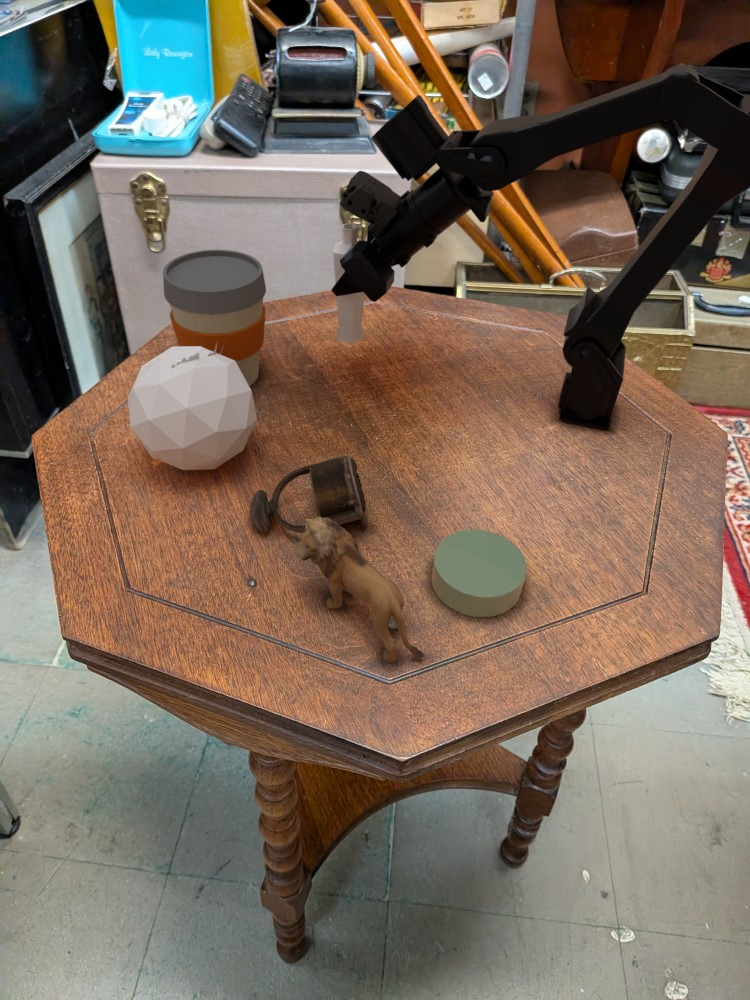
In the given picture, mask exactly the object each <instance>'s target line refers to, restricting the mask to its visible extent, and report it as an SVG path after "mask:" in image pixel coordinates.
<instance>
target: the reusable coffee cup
mask: <svg viewBox="0 0 750 1000" xmlns="http://www.w3.org/2000/svg"><path fill="white" fill-rule="evenodd" d="M162 277H163V278H162V281H163V295H164V296H163V297H164V299H165V300H166V302H167V303H168V304H169V307H170V312H169V318H170V321H171V325H172V327H173V331H174V334H175V337H176V340H177V344H178V347H180V346H201V347H203V348H206V349H208V350H210V351H213V352H214V350H215V347H216V345H217V349H216V353H218V354H220V352H221V354H220V355H222V356H225V357H227V358H230V359H232V360H235V362H236V363H237V365H238V367H239V369H240V371H241V372H242V374H243V376H244V378H245V380H246V382H247V383H248V385H249V387H251V386H252V385H253V384H254V383H255V382H256V381H257V380H258V378H259V374H260V373H259V372H260V355H261V348H262V347H263V346H264V341H265V326H266V307H265V305H264V297H265V295H266V292H267V285H266V281H265V276H264V271H263V266H262V264H261V262H260V261H259V260H258V259H257V258H255V257H253V256H252V255H250V254H247V253H244V252H240V251H237V250H236V251H235V250H229V249H204V250H198V251H192V252H188V253H186V254H181V255H179V256H177V257H175V258H173V259H171V260H170V261H169V262H168V263H166V265H165V266H164V267H163V271H162ZM216 342H217V344H216ZM222 347H223V349H222ZM221 350H222V351H221Z"/></svg>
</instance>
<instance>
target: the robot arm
mask: <svg viewBox="0 0 750 1000" xmlns="http://www.w3.org/2000/svg"><path fill="white" fill-rule="evenodd" d="M668 120H672V121H674V122H676V123H678V124H679V125H680V126H681V125H682V126H683V127H684V128H686V129H687V130H688V131H690V132H691V133H693V134H694V135H695V136H696V137H698V138H699V139H700V140H702V141H704V142H705V143H706V144H707V146H706V147H705V149H704V152H703V154H702V156H701V158H700V161H699V163H698V165H697V167H696V170H695V172H694V174H693V175H692V177H691V179H690V181H689V182H688V183H687V184H686V185H685V187H684V188H683V190H681V192H680V193H679V195H678V196H677V197H676V198H675V200H674V201H673V203H671V205H670V206H669V207H668V209H667V210H666V211H665V213H664V214H663V215H662V217H661V218H660V219H659V221H658V222H657V223H656V225H654V227H653V228H652V229H651V231H650V232H649V233H648V234H647V236H646V237H645V239H644V240H643V241H642V243H641V244H640V245H639V246H638V247H637V249H636V250H635V251H634V253H633V254H632V256H631V257H630V258H629V259H628V261H627V262H626V263H625V264H624V265H623V267H622V268H621V270H619V272H618V273H617V274H616V276H615V277H614V279H613V280H612V281H611V282H610V283H609V285H607V286H606V287H603V289H601V290H599V291H598V292H595V291H594V290H593V289H592V288H591V287H590V286H587V287H586V289H585V290H584V293H583V294H582V297H581V298H580V300H579V301H578V303H577V304H575V306H573V307H571V308H570V309H569V310H568V313H567V318H566V323H565V327H564V331H563V336H564V337H565V338H564V342H563V346H562V354H563V358H564V360H565V362H566V363H567V364H568V365H569V366H570V367H571V370H570V372H569V371H567V372H566V373H564V378H563V381H562V382H563V383H562V386H561V389H560V394H559V397H558V403H557V408H558V410H560V411H559V415H558V420H559V422H560V421H561V422H564V423H569V424H573V425H578V426H584V427H588V428H594V429H598V430H604V431H610V429H611V427H612V419H613V418H612V417H613V413H614V409H615V407H616V404H617V399H618V397H619V393H620V390H621V387H622V384H623V382H624V377H625V376H624V375H625V366H626V365H625V363H626V355H627V354H626V353H627V346H626V344H625V343H624V342H623V340H622V339H623V338H624V335H625V332H626V330H627V328H628V326H629V325H630V323H631V321H632V318H633V316H634V314H635V312H636V311H637V310H638V308H639V307H640V306H641V305H642V303H643V302H644V301H645V300H646V299H647V298H648V296H649V295H650V294H651V293H652V292H653V290H655V288H656V287H657V286H658V285H659V283H660V282H661V281H662V280H663V278H664V277H665V276H666V275H667V273H668V272H669V271H670V270H671V269H672V267H674V266H675V264H676V263H677V261H678V260H679V259H680V258H681V256H682V255H683V254H684V253H685V252H686V251H687V249H688V248H689V247H690V246H691V245H692V243H693V242H694V241H696V238H697V237H698V236H699V235H700V234H701V233H702V232H703V230H704V229H705V228H706V226H708V224H709V223H710V222H711V220H712V219H713V218H714V217H715V216H716V214H717V213H718V212H719V211H720V210H721V209H722V208H723V207H724V206H725V205H727V204H728V203H730V202H731V201H732V200H734V199H735V198H737V197H738V196H740V195H741V194H743V193H744V192H746V191H748V190H749V189H750V95H749V96H746V95H744V94H742V93H740V92H739V91H737V90H735V89H734V88H732V87H730V86H727V85H725V84H723V83H720V82H719V81H716V80H714V79H712V78H709V77H707V76H704V75H703V74H701V73H700V72H698V71H697V70H696V69H695V68H694V67H692V66H690V65H687V64H677V65H674V66H671V67H669V68H668V69H666V70H665V71H663V72H662V73H659V74H656V75H654V76H651V77H648V78H645V79H643V80H641V81H637V82H634V83H631V84H629V85H626V86H623V87H621V88H618V89H615V90H612V91H610V92H607V93H604V94H601V95H599V96H595V97H593V98H590V99H588V100H584V101H582V102H579V103H577V104H574V105H571V106H568V107H566V108H562V109H560V110H556V111H554V112H551V113H546V114H545V113H544V114H539V115H538V114H536V115H519V116H514V117H508V118H503V119H497V120H492V121H491V122H489V123H487V124H485V125H484V126H483V127H482V128H480V129H464V130H461V129H460V130H452V131H451V132H450V133H449V134H447V132H446V131H445V130H444V128H443V127H442V126H441V124H440V123H439V121H438V120H437V119H436V117H435V116H434V115H433V114H432V112H431V110H430V107H429V105H428V104H427V102H426V101H425V99H424V98H423V97H422V95H421V94H417V95H416V96H415V97H414V98H413V99H412V100H411V101H409V103H408V104H407V105H406V106H405V107H404V108H403V109H399V110H398V111H397V112H396V113H395V114H394V115H393V116H392V117H391V118H390V119H388V120H387V121H386V122H385V123H384V124H383V125H382V126H381V127H380V128H379V129H378V130H377V131H376V132H375V133H374V134H373V135H372V136H371V137H370V140H371V141H372V142H373V144H374V145H375V146H376V148H377V149H378V150H379V152H380V153H381V154H382V155H383V156H384V158H385V160H387V162H388V163H389V164H390V165H391V167H392V168H393V169H394V170H395V172H396V173H397V175H398V176H399V177H400V179H401V180H404V179H406V181H407V182H410V181H411V180H412V179H413V180H414V182H417V181H419V180H420V179H421V178H422V177H423V176H424V175H425V174H427V173H428V171H429V170H431V169H432V168H433V167H434V166H435V165H437V167H438V169H436V170H435V171H434V172H433V173H431V175H429V176H428V177H427V178H426V179H425V180H424V181H423V182H422V183H421V184H419V185H418V186H416V188H415V189H414V190H413V189H411V190H410V189H408V190H406V191H405V192H404V193H402V195H399V194H398V193H397V192H395V191H394V190H393V189H392V188H391V187H390V186H388V185H386V184H385V183H383V182H382V181H380V180H379V179H378V178H376V177H375V176H373V175H372V174H370V173H368V172H367V171H364V170H359V171H357V172H356V173H355V174H354V175H353V176H352V177H350V179H349V182H348V184H347V186H346V188H345V190H343V192H342V193H341V199H340V201H339V205H340V207H341V208H342V209H344V211H346V212H349V213H350V214H352V215H353V216H355V217H356V218H357V219H359V220H363V221H365V222H367V223H368V224H369V225H368V226H367V230H366V231H367V233H366V240H363V239H359V240H358V242H357V243H355V244H353V245H352V246H351V248H350V249H349V250H348V251H347V252H346V253H345V254H344V256H343V257H342V258H341V259H340V264H341V267H342V268H343V269H344V270H345V272H344V273H343V275H342V276H341V277H340V279H339V280H338V281H337V283H336V284H335V283H334V285H333V287H332V288H331V292H332V294H333V295H334V296H335V297H336V296H342V295H348V294H354V293H360V292H364V293H365V295H364V296H366V298H368V300H369V301H371V302H374V303H376V302H377V301H378V300H380V299H381V298H382V297H384V296H385V295H386V294H387V293H388V291H389V290H390V289H391V287H392V286H393V284H394V283H395V270H394V269H393V267H395V266H398V265H399V267H400V268H401V269H403V268H404V267H405V266H407V264H408V263H409V262H410V261H411V259H412V258H413V256H415V255H416V254H417V253H418V252H419V251H421V250H422V249H423V248H424V247H425V248H426V249H428V248H429V247H430V246H432V245H433V244H434V242H435V241H436V239H437V238H438V236H440V235H441V234H442V233H443V232H445V231H446V230H447V229H448V228H449V227H451V226H452V225H453V224H455V223H456V222H457V221H458V220H459V219H461V218H462V217H463V216H464V215H466V214H467V213H468V212H470V211H471V212H472V213H473V215H474V216H475V218H477V220H478V221H479V222H480V223H485V222H486V220H487V218H488V216H489V214H490V213H491V211H492V205H491V204H492V199H493V197H494V194H495V192H496V191H500V190H502V189H504V188H505V187H507V186H509V185H511V184H513V183H515V182H518V180H520V179H523V178H524V177H526V176H528V175H529V174H531V173H532V172H533V171H535V170H537V169H538V168H540V167H542V165H544V164H546V163H548V162H549V161H551V160H553V159H555V158H557V157H560V156H563V155H565V154H569V153H572V152H575V151H578V150H581V149H584V148H586V147H590V146H593V145H596V144H599V143H602V142H604V141H608V140H611V139H614V138H616V137H620V136H623V135H625V134H629V133H632V132H635V131H638V130H641V129H644V128H647V127H649V126H653V125H655V124H658V123H662V122H665V121H668Z"/></svg>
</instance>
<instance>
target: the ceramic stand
mask: <svg viewBox="0 0 750 1000" xmlns="http://www.w3.org/2000/svg"><path fill="white" fill-rule="evenodd" d="M527 568H528V567H527V562H526V558H525V556H524V554H523V552H522V551H521V549H520V548H519V546H517V545H516V544H515V543H513V542H512V541H511V540H510V539H508V538H507V537H505V536H504V535H502V534H499V533H496V532H493V531H489V530H484V529H464V530H460V531H456V532H453V533H451V534H449V535H447V536H446V537H444V538H443V539H442V540H441V541H440V542H439V543H438V545H437V547H436V548H435V551H434V555H433V562H432V569H431V579H430V580H431V585H432V586H431V587H432V589H433V591H434V593H435V595H436V596H437V598H438V599H439V600H440V601H441V602H442V604H444V605H445V606H446V607H448V608H450V609H451V610H453V611H455V612H457V613H459V614H461V615H465V616H467V617H474V618H491V617H492V618H493V617H496V616H499V615H502V614H505V613H506V612H508V611H509V610H511V609H512V608H514V606H515V605H516V604H517V603H518V602H519V600H520V598H521V594H522V591H523V587H524V583H525V580H526V576H527V571H528V570H527Z"/></svg>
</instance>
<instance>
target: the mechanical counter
mask: <svg viewBox="0 0 750 1000" xmlns="http://www.w3.org/2000/svg"><path fill="white" fill-rule="evenodd" d="M357 471H358V466H357V463H356V461H355V459H354V458H352V457H351V456H349V455H348V456H345V455H343V456H338V457H334V458H330V459H327V460H324V461H320V462H316V463H313V464H309V465H306V466H301V467H299V468H296V469H294V470H293V471H291V472H289V473H288V474H286V475H285V476H284V477H283V478H282V479H281V480H280V481H279V482H278V484H277V485H276V486H275V488H274V491H273V493H272V497H271V499H270V500H269V498H268V494H267V491H265V490H264V489H258V490H257V491H255V493H254V494H253V495H252V498H251V500H250V503H249V504H250V505H249V516H250V519H251V523H253V525H254V526H255V528H256V529H257V530H259V531H260V532H263V533H265V532H268V531H269V530H270V528H271V521H272V520H271V519H272V517H275V519H276V521H277V522H278V523H279V524H280V525H281V526H282V527H283V528H285V529H286V530H289V531H291V532H294V533H301V534H302V533H303V534H304V533H305V526H306V524H305V525H295V524H292V523H289V522H288V521H286V520H285V519H283V518H282V517H281V514H280V511H279V499H280V496H281V493H282V492H283V490H284V489H285V487H286V486H287V485H288V484H289V483H291V482H293V480H295V479H296V478H298V477H300V476H305V475H309V478H310V486H311V491H312V494H313V499H314V503H315V506H316V509H317V511H318V514H319V517H322V518H329V519H331V520H332V521H335V522H337V523H338V525H339V526H341V525H343V524H348V523H352V522H355V521H361V524H362V526H364V527H368V525H369V518H368V513H367V508H366V505H367V504H366V499H365V494H364V490H363V487H362V483H361V482H362V481H361V477H360V475H359V473H358V472H357Z"/></svg>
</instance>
